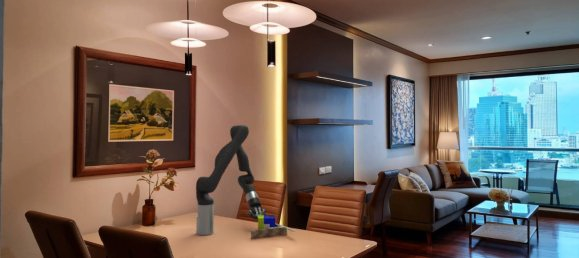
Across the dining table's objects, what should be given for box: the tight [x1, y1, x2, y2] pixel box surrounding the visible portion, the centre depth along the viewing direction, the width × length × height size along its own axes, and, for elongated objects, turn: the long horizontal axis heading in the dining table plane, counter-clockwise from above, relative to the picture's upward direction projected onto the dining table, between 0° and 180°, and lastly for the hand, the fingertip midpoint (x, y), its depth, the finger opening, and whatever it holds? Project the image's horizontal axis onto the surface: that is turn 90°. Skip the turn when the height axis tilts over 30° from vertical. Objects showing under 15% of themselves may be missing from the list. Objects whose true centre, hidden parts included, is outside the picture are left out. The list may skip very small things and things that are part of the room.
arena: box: [250, 222, 296, 240], centre depth 238 cm, size 22×28×5 cm
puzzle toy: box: [257, 214, 276, 230], centre depth 243 cm, size 10×10×10 cm
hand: (261, 223), depth 248 cm, fingers closed
